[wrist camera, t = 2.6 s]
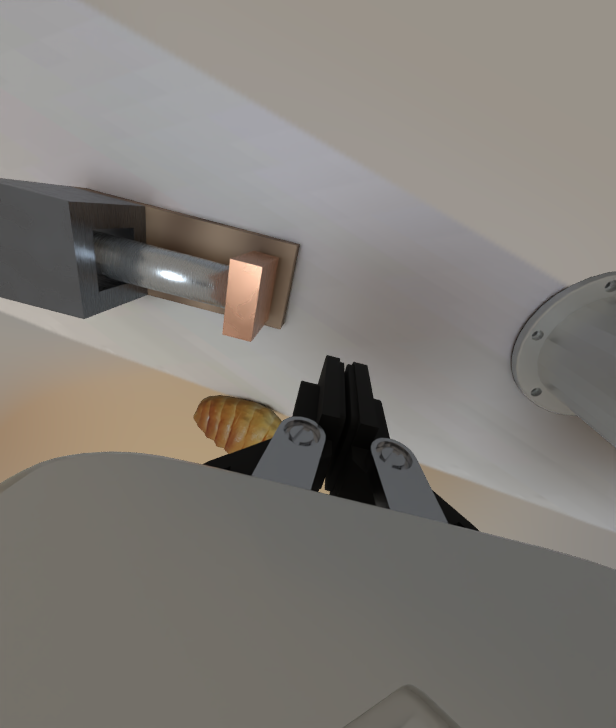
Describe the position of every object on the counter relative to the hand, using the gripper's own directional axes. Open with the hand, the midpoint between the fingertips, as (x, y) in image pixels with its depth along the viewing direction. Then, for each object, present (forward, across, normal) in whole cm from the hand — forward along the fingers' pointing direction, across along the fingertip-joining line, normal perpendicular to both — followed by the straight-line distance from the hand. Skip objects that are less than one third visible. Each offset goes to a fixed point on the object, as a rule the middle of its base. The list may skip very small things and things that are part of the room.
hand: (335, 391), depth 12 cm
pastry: (+16, +6, +16) cm, 23 cm away
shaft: (+13, +12, 0) cm, 17 cm away
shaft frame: (+15, +14, 0) cm, 21 cm away
